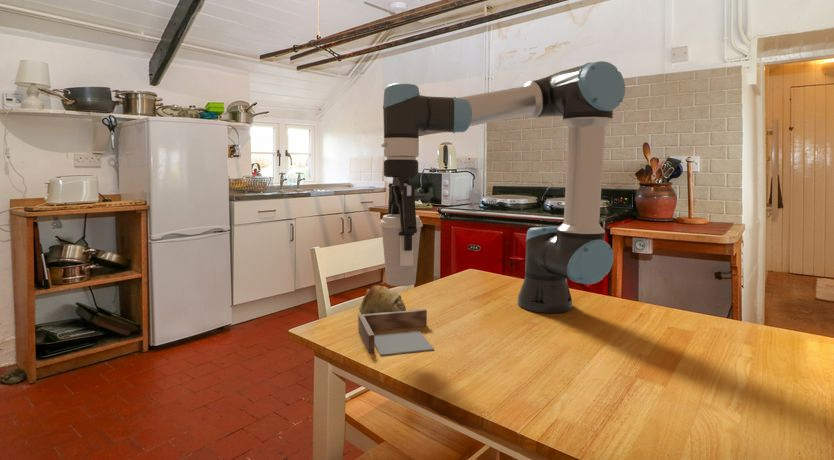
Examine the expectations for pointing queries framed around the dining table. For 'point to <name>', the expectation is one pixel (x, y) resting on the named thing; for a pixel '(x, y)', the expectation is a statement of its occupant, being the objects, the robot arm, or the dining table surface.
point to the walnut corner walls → (388, 323)
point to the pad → (401, 343)
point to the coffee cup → (398, 251)
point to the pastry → (381, 301)
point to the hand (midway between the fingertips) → (401, 260)
